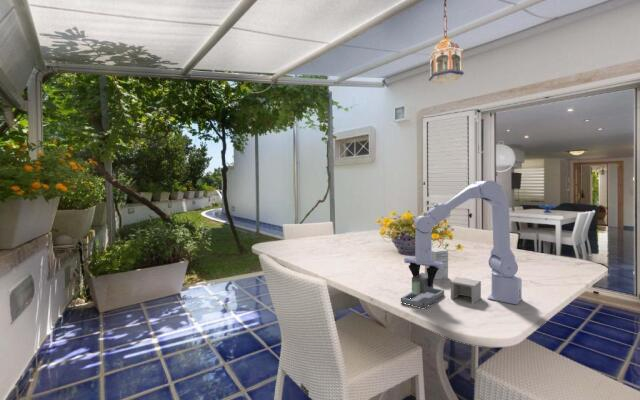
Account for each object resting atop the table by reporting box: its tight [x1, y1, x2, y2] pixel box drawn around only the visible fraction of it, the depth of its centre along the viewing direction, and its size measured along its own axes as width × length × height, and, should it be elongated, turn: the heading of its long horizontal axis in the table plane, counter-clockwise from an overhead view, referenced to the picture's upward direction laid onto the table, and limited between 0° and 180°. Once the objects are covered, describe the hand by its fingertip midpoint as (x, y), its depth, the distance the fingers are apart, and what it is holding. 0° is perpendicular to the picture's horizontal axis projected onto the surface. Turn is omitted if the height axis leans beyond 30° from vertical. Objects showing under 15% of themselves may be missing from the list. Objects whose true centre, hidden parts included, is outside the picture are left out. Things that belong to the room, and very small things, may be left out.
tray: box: [400, 287, 445, 309], centre depth 123 cm, size 9×18×2 cm, turn 137°
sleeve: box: [450, 276, 482, 304], centre depth 123 cm, size 7×8×6 cm
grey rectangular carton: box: [411, 272, 434, 295], centre depth 121 cm, size 10×5×5 cm, turn 138°
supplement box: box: [424, 247, 449, 280], centre depth 150 cm, size 7×7×13 cm
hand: (423, 284), depth 123 cm, fingers closed on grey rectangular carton, 5 cm apart
